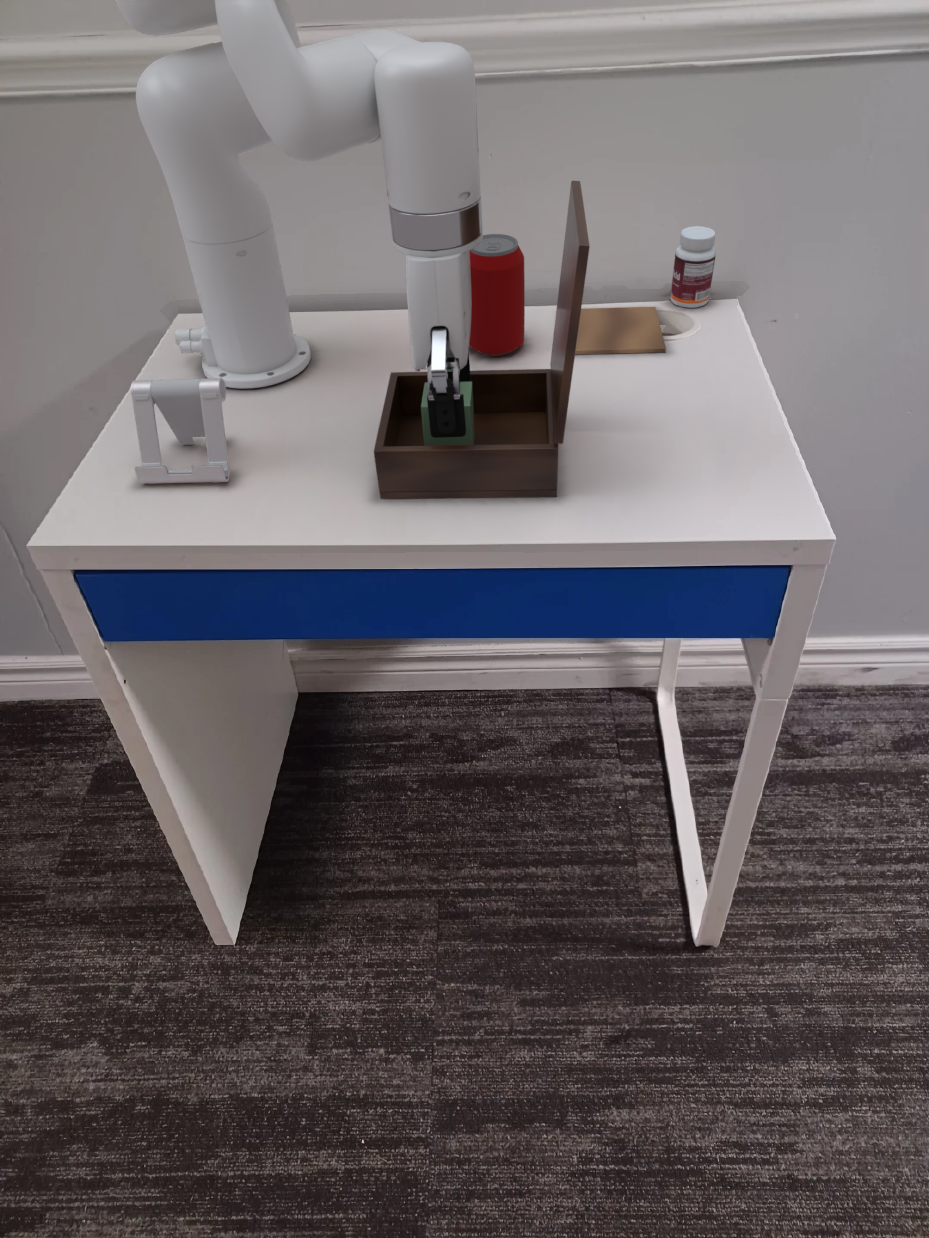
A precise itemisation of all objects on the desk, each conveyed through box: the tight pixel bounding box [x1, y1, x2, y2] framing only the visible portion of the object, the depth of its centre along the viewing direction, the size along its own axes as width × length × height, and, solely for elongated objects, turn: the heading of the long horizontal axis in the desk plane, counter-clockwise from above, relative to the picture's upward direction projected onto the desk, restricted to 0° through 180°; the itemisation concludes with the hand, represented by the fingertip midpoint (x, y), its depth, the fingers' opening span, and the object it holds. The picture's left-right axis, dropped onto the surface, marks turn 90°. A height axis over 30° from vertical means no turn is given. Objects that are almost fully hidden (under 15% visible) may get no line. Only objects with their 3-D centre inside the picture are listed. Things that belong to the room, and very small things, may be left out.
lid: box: [549, 180, 591, 445], centre depth 78 cm, size 17×15×1 cm
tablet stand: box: [130, 377, 231, 485], centre depth 87 cm, size 9×8×8 cm
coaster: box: [575, 306, 667, 355], centre depth 106 cm, size 11×11×1 cm
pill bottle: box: [670, 225, 717, 309], centre depth 108 cm, size 5×5×8 cm
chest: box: [373, 368, 559, 500], centre depth 87 cm, size 17×15×5 cm
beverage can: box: [469, 233, 526, 357], centre depth 101 cm, size 7×7×12 cm
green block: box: [421, 382, 475, 446], centre depth 86 cm, size 5×5×6 cm
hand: (451, 408), depth 85 cm, fingers open, 9 cm apart
